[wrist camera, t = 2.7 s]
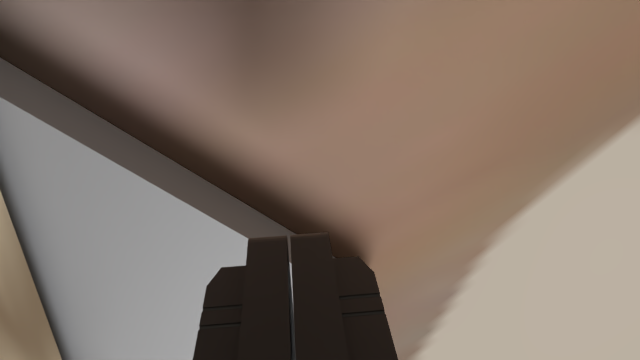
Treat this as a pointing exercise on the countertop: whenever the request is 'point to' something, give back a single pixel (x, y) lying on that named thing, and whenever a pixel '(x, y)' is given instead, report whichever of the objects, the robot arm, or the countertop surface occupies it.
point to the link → (20, 303)
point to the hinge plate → (113, 228)
